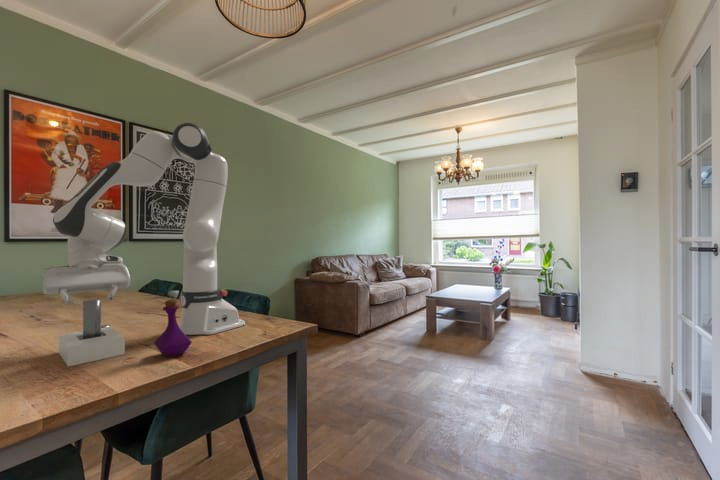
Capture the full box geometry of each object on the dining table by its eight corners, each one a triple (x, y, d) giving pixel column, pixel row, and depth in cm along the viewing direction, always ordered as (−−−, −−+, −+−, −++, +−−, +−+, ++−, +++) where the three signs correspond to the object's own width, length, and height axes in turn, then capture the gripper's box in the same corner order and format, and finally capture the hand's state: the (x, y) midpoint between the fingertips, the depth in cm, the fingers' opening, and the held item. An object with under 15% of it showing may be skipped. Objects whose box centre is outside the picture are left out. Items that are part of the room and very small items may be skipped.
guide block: (110, 342, 102) (110, 326, 102) (124, 354, 92) (124, 336, 92) (58, 352, 93) (58, 334, 93) (67, 366, 83) (67, 346, 83)
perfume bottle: (153, 354, 92) (153, 290, 92) (182, 348, 97) (182, 287, 97) (162, 361, 87) (162, 293, 87) (191, 354, 92) (192, 290, 92)
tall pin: (94, 350, 95) (94, 298, 95) (104, 351, 94) (104, 299, 94) (78, 354, 91) (79, 301, 91) (89, 356, 90) (89, 302, 90)
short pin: (108, 337, 108) (109, 323, 108) (112, 340, 105) (112, 326, 105) (93, 340, 105) (93, 326, 105) (96, 342, 102) (96, 328, 102)
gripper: (41, 260, 93) (41, 298, 86) (127, 257, 108) (133, 289, 101) (41, 274, 96) (41, 312, 89) (125, 269, 111) (131, 302, 104)
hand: (91, 300), depth 95 cm, fingers open, 8 cm apart
